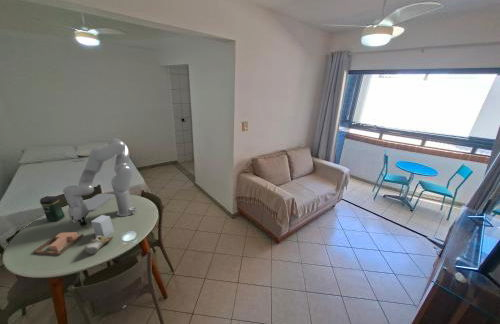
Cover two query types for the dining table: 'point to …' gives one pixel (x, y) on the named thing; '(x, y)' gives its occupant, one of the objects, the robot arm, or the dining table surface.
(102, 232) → the supplement box
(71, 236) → the t block
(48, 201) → the coffee jar
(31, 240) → the dining table surface
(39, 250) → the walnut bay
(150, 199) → the dining table surface
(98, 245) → the ceramic sculpture
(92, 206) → the tablet
